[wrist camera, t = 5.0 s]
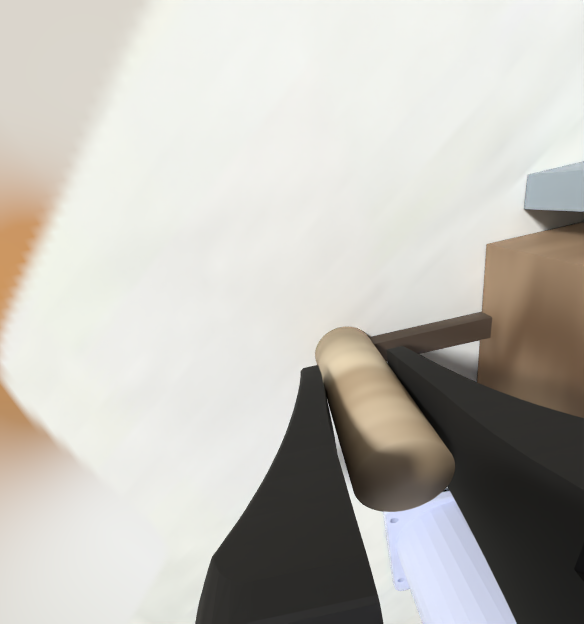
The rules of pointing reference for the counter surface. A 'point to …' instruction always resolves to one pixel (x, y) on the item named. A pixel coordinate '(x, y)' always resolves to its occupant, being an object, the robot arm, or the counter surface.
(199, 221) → the counter surface
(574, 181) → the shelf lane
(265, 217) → the counter surface
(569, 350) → the block with knob handle
